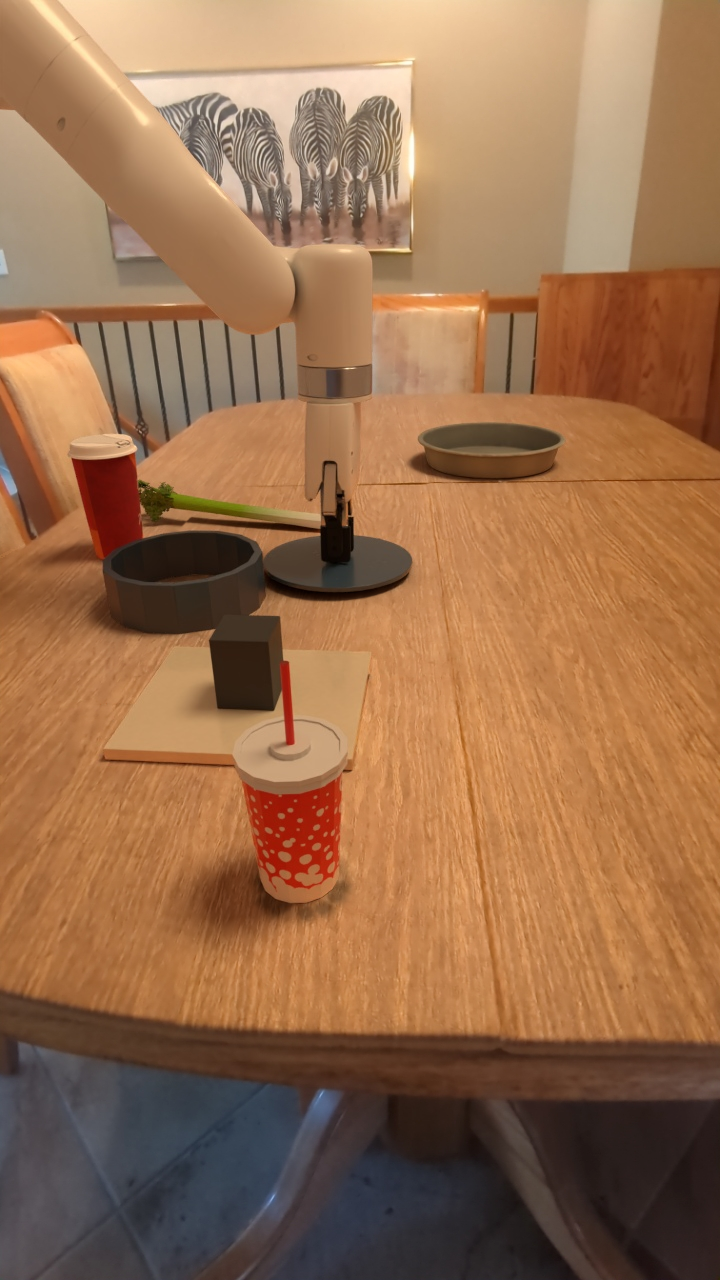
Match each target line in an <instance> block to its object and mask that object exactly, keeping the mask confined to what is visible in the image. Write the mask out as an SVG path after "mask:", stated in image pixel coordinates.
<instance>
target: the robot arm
mask: <svg viewBox="0 0 720 1280" xmlns="http://www.w3.org/2000/svg"><path fill="white" fill-rule="evenodd" d="M0 110H4V111H15V112H16V113H17V114H18V115H19V116H20V117H21V118H22V119H23V120H24V121H25V122H26V123H28V125H30V127H32V128H33V129H34V131H36V133H37V134H38V135H40V137H41V138H42V139H43V140H45V142H46V143H47V144H49V146H50V147H51V148H52V149H53V150H54V151H55V152H56V153H57V154H58V155H59V156H60V157H61V158H62V159H63V160H64V161H65V162H66V163H67V164H68V166H69V167H70V168H71V169H73V171H74V172H75V173H76V174H77V175H78V176H79V177H80V178H81V179H82V180H83V181H84V182H85V183H86V184H87V185H88V186H89V187H90V189H92V190H93V192H95V194H97V196H98V197H99V198H101V200H102V201H103V202H104V203H105V204H106V206H107V207H108V208H109V209H110V210H111V211H112V212H113V213H114V214H115V215H116V216H118V217H119V218H120V219H121V220H122V221H124V222H125V224H127V225H128V226H129V227H130V228H131V229H132V230H133V231H134V232H135V233H136V234H137V235H138V236H139V237H140V238H141V239H142V241H144V242H145V244H146V245H147V246H148V247H149V248H150V249H151V250H152V251H153V252H154V253H155V254H156V255H157V256H158V257H159V258H160V259H161V260H162V261H163V263H165V264H166V266H167V267H169V269H170V270H171V271H172V272H173V273H174V274H175V275H176V276H177V277H178V278H179V279H180V280H181V282H183V283H184V284H185V285H186V286H187V287H188V288H189V289H190V291H192V292H193V293H194V294H195V295H196V296H197V298H198V299H200V300H201V301H202V302H203V303H204V304H205V306H207V307H208V309H209V310H211V311H212V313H213V314H215V315H216V316H217V317H218V318H219V319H220V320H221V322H223V323H224V324H226V325H227V327H229V328H231V329H233V330H235V331H236V332H239V333H241V334H245V335H251V336H253V335H254V336H255V335H264V334H267V333H270V332H272V331H274V330H275V329H277V328H278V327H280V325H282V324H289V323H293V324H294V327H295V353H296V379H297V380H296V381H297V382H296V384H297V399H298V400H299V401H300V402H305V403H306V405H305V418H304V420H305V421H304V498H305V500H307V502H310V503H311V502H313V500H315V499H316V498H317V496H318V494H320V514H321V526H320V529H319V531H320V532H319V533H320V535H319V536H320V537H321V560H322V561H324V562H346V563H347V562H349V561H350V559H351V552H352V551H353V549H354V535H355V518H354V516H353V497H354V495H355V493H356V490H357V487H358V484H359V480H360V470H361V456H362V455H361V453H362V451H361V449H362V403H364V402H367V401H370V400H372V399H373V324H374V323H373V317H374V316H373V310H374V309H373V304H374V303H373V297H374V296H373V295H374V293H373V290H374V287H373V286H374V285H373V283H374V281H373V279H374V277H373V276H374V268H373V259H372V256H371V253H370V251H369V250H368V249H367V248H366V247H364V246H362V245H358V244H346V243H321V244H320V243H318V244H307V245H304V246H302V247H300V248H298V247H297V248H296V247H284V246H276V245H274V244H272V242H271V241H270V240H269V239H268V238H267V236H265V235H264V234H263V233H262V231H261V230H260V228H258V227H257V226H256V225H255V223H253V222H252V220H251V219H250V218H249V217H248V216H247V215H246V214H245V212H243V211H242V210H241V208H240V207H239V206H238V205H237V204H236V203H235V202H234V200H233V199H231V197H230V196H229V195H228V194H227V193H226V192H225V190H224V189H223V188H222V187H221V186H220V185H219V184H218V183H217V181H215V179H214V178H212V176H211V175H210V174H209V173H208V172H207V170H206V169H205V168H204V167H203V166H202V165H201V163H200V162H199V161H198V160H197V158H195V157H194V155H193V154H192V153H191V152H190V150H189V149H188V148H187V146H186V145H185V144H184V142H183V140H182V139H181V137H180V136H179V134H178V133H177V131H176V130H175V129H174V128H173V126H172V125H171V124H170V123H169V122H168V121H167V119H166V118H165V117H164V116H163V115H162V114H161V112H160V111H159V110H158V109H157V108H156V107H155V106H154V105H153V103H152V102H151V101H150V100H149V99H148V98H147V97H146V96H145V95H144V94H143V92H141V91H140V89H139V88H137V86H136V85H135V84H134V83H133V82H132V81H131V79H130V78H129V77H128V76H127V75H126V74H125V73H124V72H123V71H122V69H121V68H120V67H119V66H118V65H117V64H116V63H115V61H113V60H112V59H111V57H110V56H109V55H108V54H107V53H106V52H105V51H104V50H103V48H101V46H100V45H99V43H97V42H96V41H95V40H94V38H93V37H92V36H91V35H90V34H89V33H88V31H86V30H85V28H84V27H83V26H82V25H81V24H80V23H79V22H78V20H77V19H76V18H75V17H74V16H73V15H72V14H71V13H70V12H69V10H68V9H67V8H66V7H65V6H64V5H63V4H62V3H61V2H60V0H0ZM319 492H320V493H319Z"/></svg>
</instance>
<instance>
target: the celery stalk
mask: <svg viewBox="0 0 720 1280" xmlns="http://www.w3.org/2000/svg"><path fill="white" fill-rule="evenodd" d="M138 488H139V498H140V506H141V507H142V509H144V513H145V515H147V516H150V517H149V519H150V521H151V522H154V523H157V522H160V521H161V520H162V519H164V517H163V515H164V513H165V512H170V509H173V510H181V511H182V510H183V511H191V512H200V513H206V514H215V515H222V516H228V517H235V518H243V519H249V520H255V521H256V520H257V521H264V522H270V523H279V524H286V525H292V526H299V527H306V528H311V529H312V528H313V529H318V530H320V526H321V513H316V512H315V513H314V512H307V511H297V510H296V511H295V510H288V509H280V508H273V507H264V506H257V505H250V504H242V503H234V502H228V501H221V500H214V499H208V498H202V497H197V496H191V495H187V494H186V495H185V494H181V493H177V492H176V491H174V489H175V487H174V486H171V485H170V484H169V483H167V484H166V481H163V482H160V485H159V486H158V487H155V486H151V483H150V482H147V481H145V480H142V479H138ZM142 489H143V490H142ZM161 516H162V517H161Z"/></svg>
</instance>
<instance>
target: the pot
mask: <svg viewBox="0 0 720 1280" xmlns="http://www.w3.org/2000/svg"><path fill="white" fill-rule="evenodd" d="M263 555H264V554H263V550H262V548H261V546H260V544H259V543H258V541H256V540H254V539H251V538H250V537H247V536H245V535H243V534H241V533H234V532H228V531H222V530H197V529H195V530H182V531H173V532H172V531H171V532H163V533H159V534H154V535H151V536H147V537H143V538H142V539H138V540H135V541H133V542H130V543H128V544H126V545H123V546H121V547H119V548H116V549H115V550H113V551H112V552H111V553H110V554H109V555H108V556H107V557H106V558H104V559H102V575H103V580H104V581H103V582H104V586H105V591H106V592H105V593H106V597H107V602H108V608H109V613H110V618H112V619H113V620H115V621H116V623H118V624H120V625H121V626H122V627H123V628H125V629H130V630H134V631H136V632H137V631H138V632H142V633H145V634H155V635H156V634H158V635H159V634H160V635H184V634H185V635H186V634H192V633H199V632H206V631H212V630H213V631H214V630H215V629H216V628H217V626H218V624H219V623H220V621H221V620H222V618H223V616H224V615H253V613H255V612H256V611H258V610H259V609H260V608H261V607H262V604H263V603H264V601H265V599H266V597H267V591H266V581H265V580H266V579H265V571H264V566H263V560H264V556H263ZM196 575H197V576H200V575H201V576H210V577H206V578H200V579H194V580H184V581H178V582H177V581H176V582H163V581H165V580H167V579H172V578H180V577H187V576H196ZM161 581H162V582H161Z"/></svg>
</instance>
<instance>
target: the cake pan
mask: <svg viewBox="0 0 720 1280" xmlns="http://www.w3.org/2000/svg"><path fill="white" fill-rule="evenodd" d="M417 442H418V444H419V445H421V446H423V449H424V452H425V457H426V462H427V464H428V466H429V467H430V468H432V469H434V470H436V471H438V472H440V473H445V474H447V475H451V476H456V477H464V478H475V479H513V478H522V477H529V476H533V475H538V474H542V473H544V472H546V471H548V470H550V469H551V468H552V467H553V465H554V463H555V459H556V456H557V453H558V450H559V449H560V448H562V447H563V446H564V445H565V444H566V438H565V436H564V435H563V434H562V433H560V432H558V431H556V430H553V429H551V428H550V429H549V428H546V427H542V426H537V425H531V424H525V423H515V422H514V423H511V422H497V421H496V422H489V421H488V422H487V421H486V422H482V421H480V422H461V423H454V424H446V425H440V426H435V427H432V428H428V429H427V430H424V431H423V432H421V433H419V435H418V436H417Z"/></svg>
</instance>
